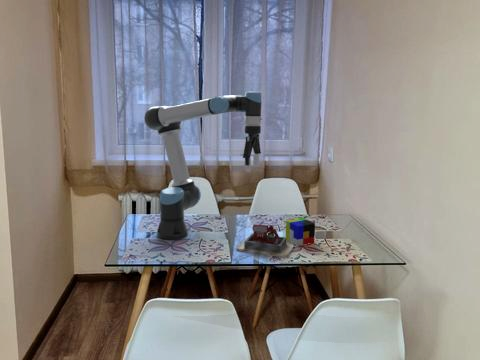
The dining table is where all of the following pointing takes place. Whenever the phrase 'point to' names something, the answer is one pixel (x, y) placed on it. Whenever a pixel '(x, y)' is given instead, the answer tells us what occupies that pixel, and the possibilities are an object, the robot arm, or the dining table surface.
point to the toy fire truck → (265, 234)
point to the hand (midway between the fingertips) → (251, 169)
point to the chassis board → (266, 247)
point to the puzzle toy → (300, 231)
